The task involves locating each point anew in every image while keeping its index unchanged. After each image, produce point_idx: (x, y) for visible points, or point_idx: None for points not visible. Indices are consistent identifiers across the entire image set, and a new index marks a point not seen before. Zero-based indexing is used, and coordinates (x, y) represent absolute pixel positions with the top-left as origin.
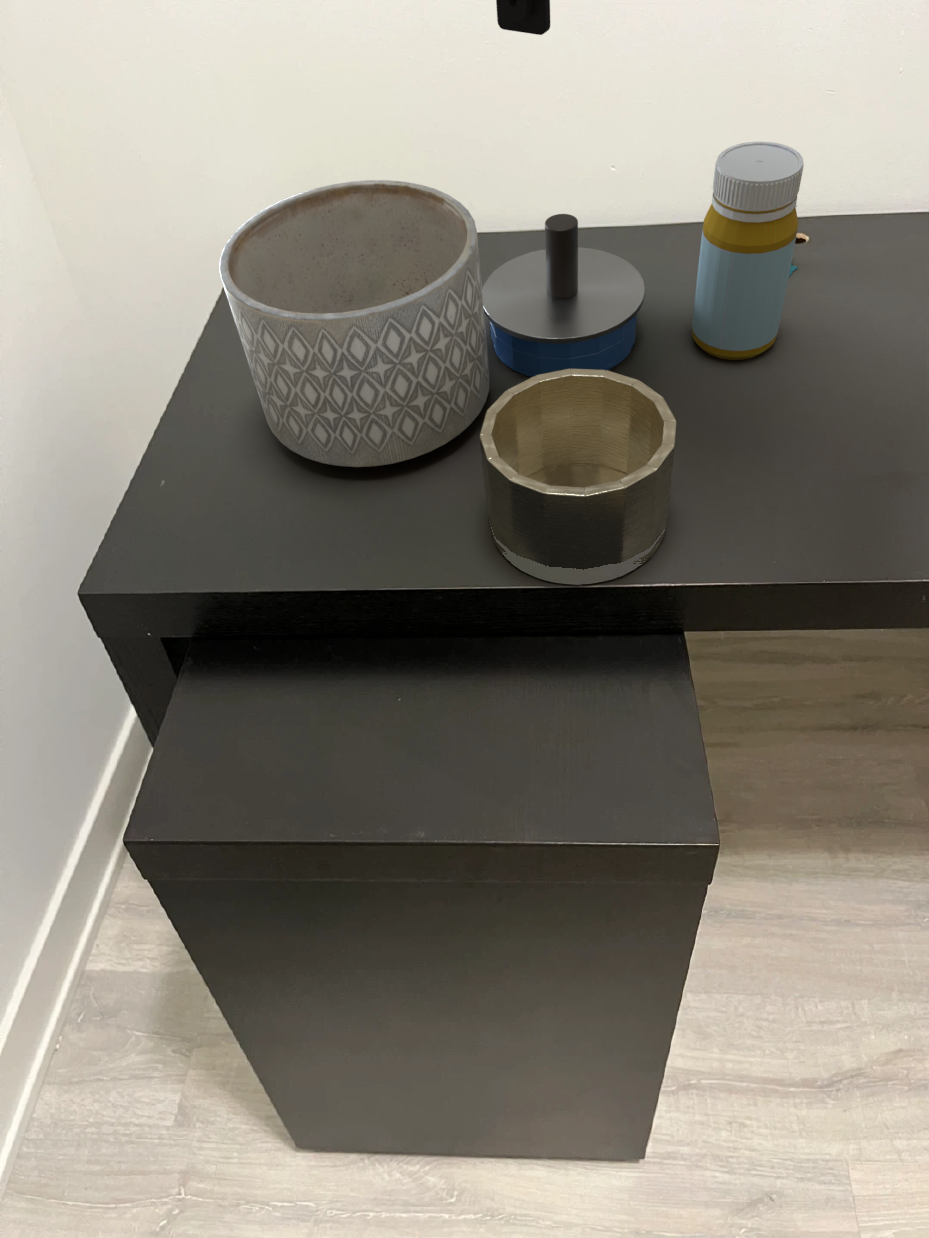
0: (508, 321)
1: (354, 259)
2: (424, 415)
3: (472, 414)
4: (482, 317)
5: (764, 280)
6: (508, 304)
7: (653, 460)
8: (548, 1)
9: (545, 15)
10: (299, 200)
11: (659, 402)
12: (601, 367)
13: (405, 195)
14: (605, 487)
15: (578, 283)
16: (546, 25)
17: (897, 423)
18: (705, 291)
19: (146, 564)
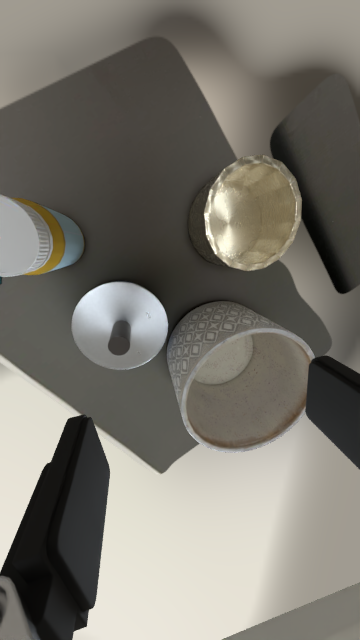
0: (162, 331)
1: (201, 409)
2: (246, 308)
3: (212, 303)
4: (201, 326)
5: (51, 210)
6: (150, 341)
7: (258, 160)
8: (349, 374)
9: (342, 364)
10: (228, 447)
11: (215, 188)
12: (135, 283)
13: (188, 416)
14: (286, 172)
15: (110, 326)
16: (330, 358)
17: (56, 101)
18: (74, 251)
19: (320, 343)
